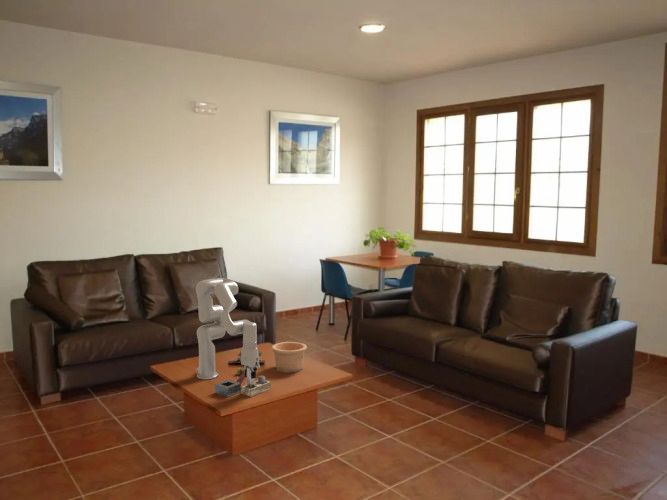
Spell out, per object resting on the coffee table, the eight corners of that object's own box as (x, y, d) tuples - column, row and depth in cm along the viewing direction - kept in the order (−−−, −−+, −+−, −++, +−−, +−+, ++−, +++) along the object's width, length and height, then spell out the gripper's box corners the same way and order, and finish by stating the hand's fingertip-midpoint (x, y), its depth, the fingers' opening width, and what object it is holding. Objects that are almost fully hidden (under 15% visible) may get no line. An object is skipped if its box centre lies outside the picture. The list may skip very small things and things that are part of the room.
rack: (240, 393, 318) (240, 381, 317) (260, 385, 330) (260, 374, 330) (251, 396, 313) (251, 384, 312) (271, 388, 326) (271, 376, 325)
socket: (215, 393, 318) (214, 384, 318) (228, 388, 326) (228, 379, 326) (227, 397, 312) (227, 388, 312) (240, 392, 320) (240, 383, 320)
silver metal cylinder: (245, 388, 317) (245, 367, 316) (250, 386, 320) (250, 365, 319) (250, 390, 315) (250, 368, 314) (255, 388, 318) (255, 366, 317)
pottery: (265, 368, 363) (264, 345, 361) (292, 361, 377) (292, 339, 376) (285, 376, 347) (285, 353, 345) (313, 369, 361) (313, 346, 360)
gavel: (245, 380, 330) (228, 380, 331) (245, 388, 331) (229, 387, 332) (254, 367, 351) (238, 366, 352) (255, 374, 352) (239, 373, 353)
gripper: (234, 344, 317) (234, 376, 319) (256, 349, 307) (256, 382, 309) (243, 341, 323) (244, 372, 325) (266, 345, 313) (266, 378, 315)
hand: (250, 376), depth 317 cm, fingers closed on silver metal cylinder, 4 cm apart
